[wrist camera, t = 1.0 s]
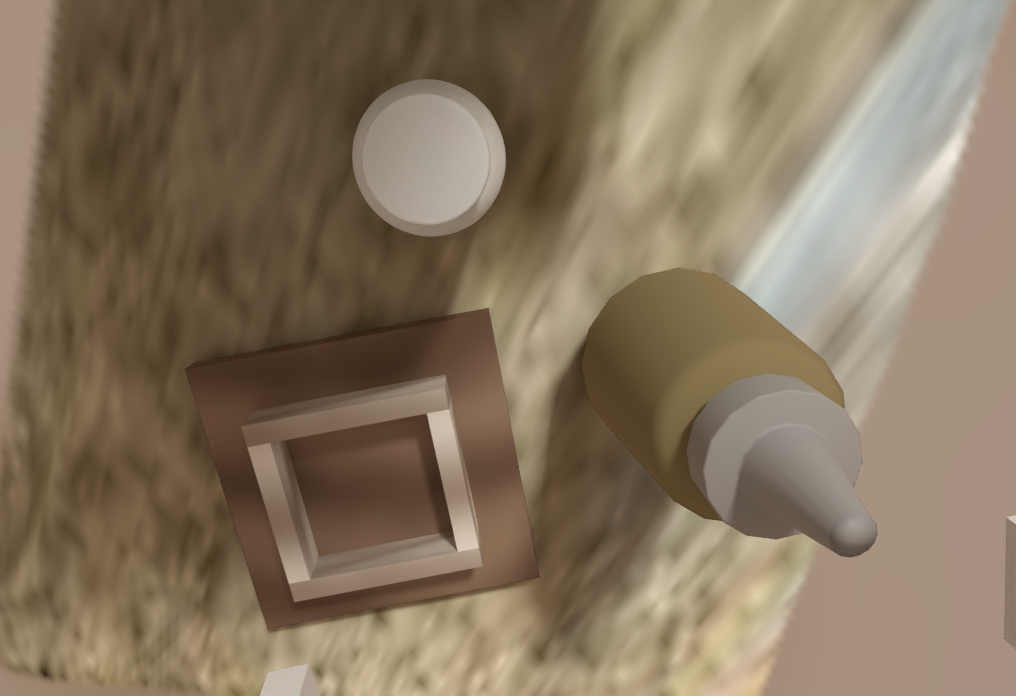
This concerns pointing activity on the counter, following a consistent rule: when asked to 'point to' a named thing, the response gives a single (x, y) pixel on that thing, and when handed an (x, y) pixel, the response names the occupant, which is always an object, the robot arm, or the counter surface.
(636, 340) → the squeeze bottle
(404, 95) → the supplement bottle
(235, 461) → the collar holder
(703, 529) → the counter surface
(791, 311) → the counter surface
